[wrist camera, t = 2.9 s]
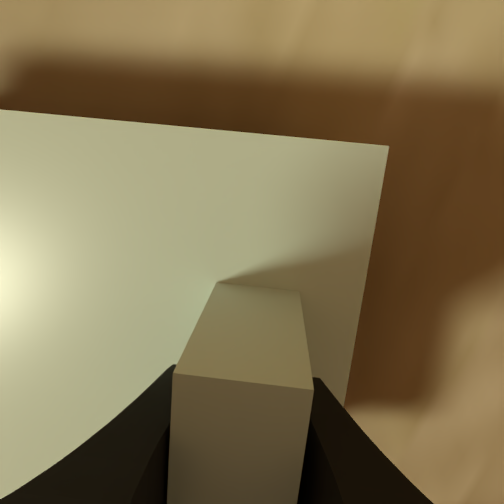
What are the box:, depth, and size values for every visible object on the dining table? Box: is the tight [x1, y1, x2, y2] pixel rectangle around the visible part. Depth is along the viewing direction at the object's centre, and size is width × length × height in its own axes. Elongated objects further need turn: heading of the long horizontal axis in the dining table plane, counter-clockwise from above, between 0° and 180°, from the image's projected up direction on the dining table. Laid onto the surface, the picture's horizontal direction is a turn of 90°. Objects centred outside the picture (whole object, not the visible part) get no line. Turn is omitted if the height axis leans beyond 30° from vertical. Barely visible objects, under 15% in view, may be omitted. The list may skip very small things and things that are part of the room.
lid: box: [0, 109, 389, 504], centre depth 9 cm, size 12×15×6 cm
